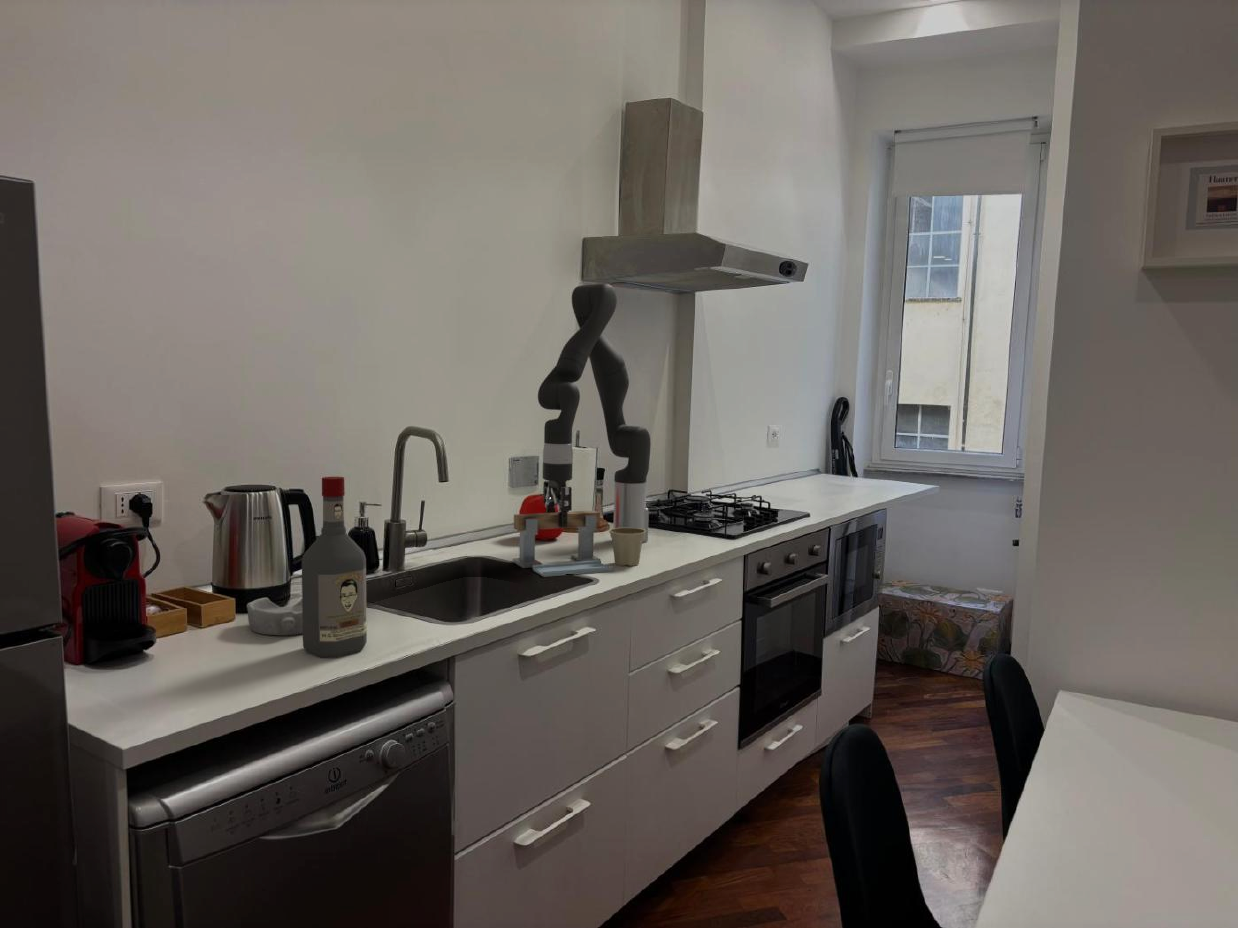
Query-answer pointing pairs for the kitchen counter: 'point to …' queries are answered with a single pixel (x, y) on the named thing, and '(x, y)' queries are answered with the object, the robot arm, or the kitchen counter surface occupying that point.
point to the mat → (571, 568)
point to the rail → (554, 519)
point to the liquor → (334, 583)
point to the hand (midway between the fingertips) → (556, 524)
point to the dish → (275, 618)
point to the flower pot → (627, 545)
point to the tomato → (536, 505)
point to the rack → (584, 554)
